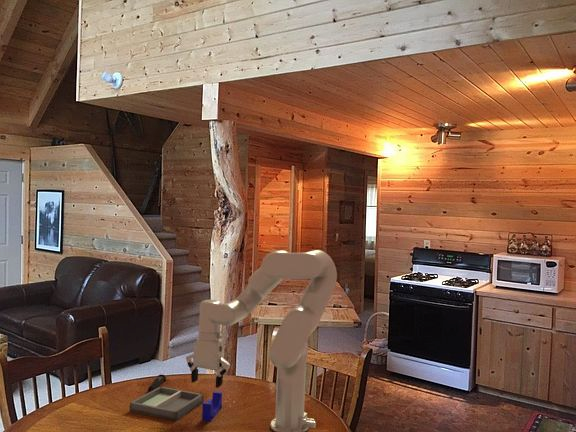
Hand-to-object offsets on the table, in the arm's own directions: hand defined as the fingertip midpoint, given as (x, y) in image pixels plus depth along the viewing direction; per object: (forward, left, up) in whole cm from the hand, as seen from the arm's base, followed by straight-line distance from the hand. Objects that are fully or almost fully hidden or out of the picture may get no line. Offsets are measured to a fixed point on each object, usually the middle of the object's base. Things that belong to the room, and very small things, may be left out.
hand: (206, 384), depth 177 cm
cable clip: (-2, 0, -11) cm, 11 cm away
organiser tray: (+15, +1, -10) cm, 18 cm away
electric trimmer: (+31, -15, -11) cm, 36 cm away
